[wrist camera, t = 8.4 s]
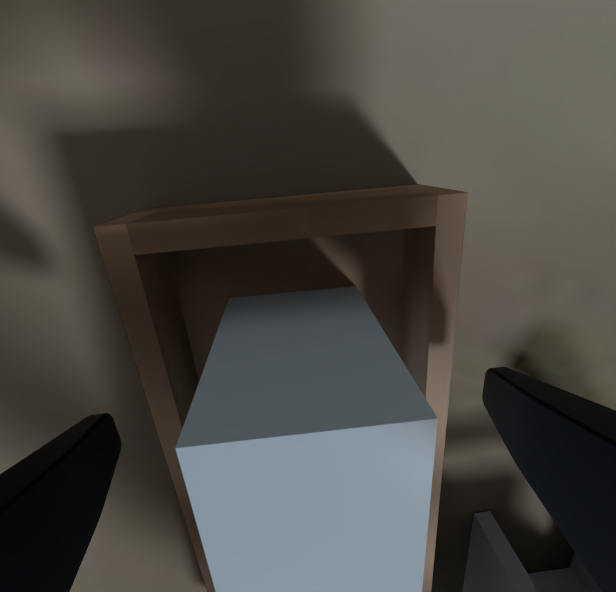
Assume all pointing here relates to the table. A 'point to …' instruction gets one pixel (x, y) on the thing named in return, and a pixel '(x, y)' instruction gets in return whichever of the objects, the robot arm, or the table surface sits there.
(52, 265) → the table surface
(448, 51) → the table surface
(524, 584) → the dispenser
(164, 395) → the tray
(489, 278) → the table surface
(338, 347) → the pale blue rectangular pillar
